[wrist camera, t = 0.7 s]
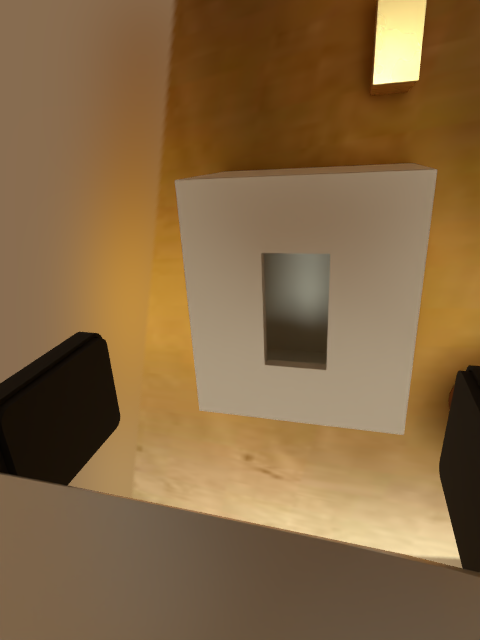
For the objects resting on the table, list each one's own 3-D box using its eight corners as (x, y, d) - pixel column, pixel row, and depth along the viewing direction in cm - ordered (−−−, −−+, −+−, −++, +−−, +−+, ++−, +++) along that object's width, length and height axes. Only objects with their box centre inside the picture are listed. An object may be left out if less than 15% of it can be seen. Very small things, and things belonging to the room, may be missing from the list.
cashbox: (225, 171, 32) (174, 180, 23) (412, 162, 29) (437, 169, 20) (236, 349, 38) (199, 410, 29) (392, 361, 35) (403, 434, 26)
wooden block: (375, 7, 26) (380, -26, 21) (415, 1, 25) (429, -34, 20) (370, 95, 28) (372, 84, 23) (407, 92, 27) (418, 80, 22)
